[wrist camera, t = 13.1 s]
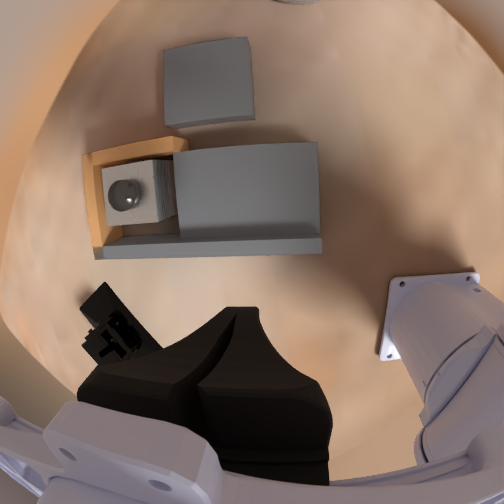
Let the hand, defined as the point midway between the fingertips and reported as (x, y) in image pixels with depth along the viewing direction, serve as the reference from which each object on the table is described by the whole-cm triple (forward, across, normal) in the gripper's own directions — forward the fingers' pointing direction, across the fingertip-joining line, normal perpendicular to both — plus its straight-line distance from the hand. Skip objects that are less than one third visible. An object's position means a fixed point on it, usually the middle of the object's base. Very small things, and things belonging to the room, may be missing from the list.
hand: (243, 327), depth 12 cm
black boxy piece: (+11, +14, +8) cm, 19 cm away
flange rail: (+10, +4, -5) cm, 12 cm away
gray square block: (+10, +3, -13) cm, 17 cm away
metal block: (+11, +8, -6) cm, 14 cm away
